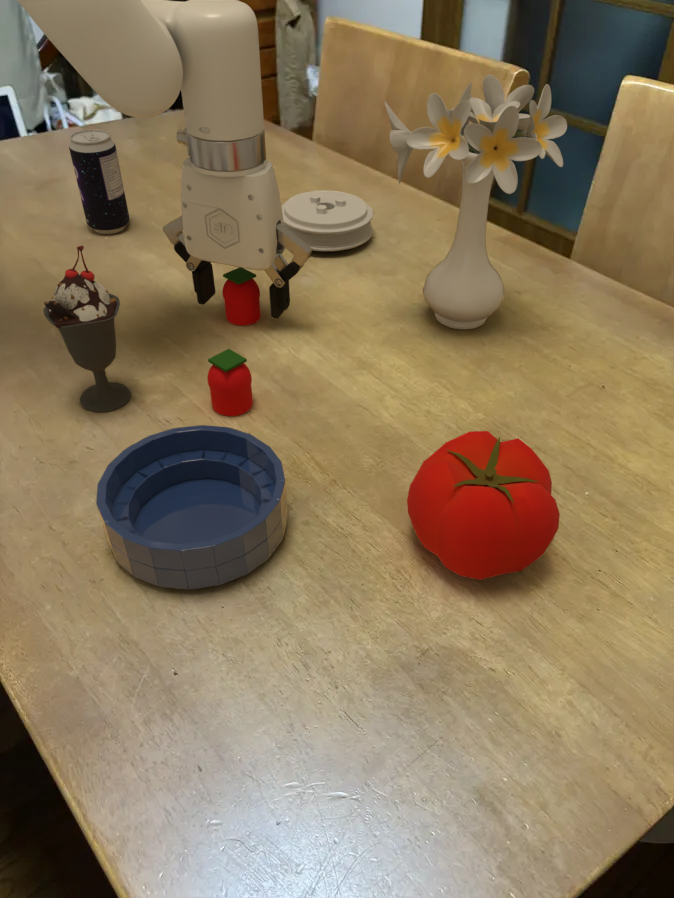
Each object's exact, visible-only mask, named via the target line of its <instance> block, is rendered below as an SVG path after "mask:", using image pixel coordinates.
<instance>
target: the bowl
mask: <svg viewBox="0 0 674 898" xmlns="http://www.w3.org/2000/svg"><path fill="white" fill-rule="evenodd" d="M287 499H288V498H287V485H286V476H285V472H284V468H283V463H282V461H281V459H280V458H279V457H278V455H277V454H276V453H275V451H274V450H273V449H272V447H271V446H270V445H268V444H266V443H265V442H264V441H262V440H261V439H259V438H257V437H256V436H254V435H252V433H248V432H245V431H241V430H239V429H237V428H233V427H228V426H220V425H219V426H218V425H205V424H202V425H201V424H198V425H191V426H179V427H173V428H170V429H166V430H163V431H160V432H157V433H153V434H150V435H148V436H146V437H143V438H142V439H141V440H138V441H136V442H135V443H133V444H131V445H129V446H127V447H126V448H124V449H123V450H122V451H121V452H120V453H119V454H118V455H117V456H116V457H115V458H114V459H112V461H111V462H109V464H108V465H107V466H106V468H105V470H104V471H103V473H102V475H101V477H100V479H99V480H98V483H97V487H96V501H95V505H96V508H97V512H98V515H99V518H100V521H101V524H102V528H103V531H104V535H105V538H106V541H107V543H108V546H109V548H110V550H111V553H112V555H113V558H114V559H115V562H116V563H117V564H118V565H119V566H120V567H122V568H123V569H124V570H125V571H126V572H127V573H129V574H130V575H131V576H132V577H133V578H135V579H138V580H140V581H143V582H145V583H148V584H151V585H154V586H156V587H159V588H166V589H167V588H168V589H177V590H186V591H188V590H196V589H197V590H198V589H203V588H211V587H216V586H221V585H224V584H226V583H229V582H232V581H234V580H237V579H239V578H242V577H244V576H246V575H249V574H250V573H251V572H253V571H254V570H255V569H257V568H258V567H260V566H261V565H262V564H263V563H265V562H266V561H268V560H269V559H270V558H271V556H272V555H273V554H274V552H275V551H276V549H277V548H278V547H279V545H280V544H281V543H282V541H283V539H284V537H285V533H286V529H287V524H288V520H289V517H288V514H289V513H288V501H287Z"/></svg>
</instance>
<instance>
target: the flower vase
mask: <svg viewBox="0 0 674 898" xmlns="http://www.w3.org/2000/svg"><path fill="white" fill-rule="evenodd" d="M482 80H483V81H482V92H483V96H484V100H483V99H481V98H478V97H474V96H473V95H472V87H473V82H469V83H468V85H467V86H466V88H465V89H464V90H463V93H462V95H461V97H460V100H459V102H458V103H457V104H456V106H455V107H452V108H451V109H448V108H447V106H446V104H445V102H444V100H443V98H442V97H441V96H440V95H439V94H438V93H436V92H432V93H431V94H429V96H428V98H427V101H426V112H427V117H428V120H429V122H430V124H431V125H432V127H430V126H423V127H422V126H421V127H418V128H415V129H413V130H412V131H410V129H409V128H408V127H407V126H406V125H405V124H404V123H403V122H402V120H401V119H399V117H398V116H397V115H396V114H395V112H394V111H393V110H392V108H391V107H390V106H389V104H388V102H387V101H386V100H385V101H384V105H385V108H386V109H385V110H386V112H387V115H388V118H389V122H390V123H389V125H390V129H391V130H390V132H389V141H390V146H391V148H392V150H393V152H394V153H396V154H397V177H398V178H397V179H398V185H400V184H401V182H402V178H403V175H404V171H405V169H406V166H407V163H408V161H409V158H410V156H411V154H412V152H413V150H420V151H422V150H423V151H426V150H431V151H429V153H428V154H427V155H426V157H425V160H424V162H423V176H424V177H425V178H428V179H429V178H432V177H433V176H434V175H435V174H436V173H437V172H438V171H439V169H440V167H441V166H442V164H443V162H444V161H445V159H446V158H447V157H448V156H449V157H450V158H451V159H453V160H456V161H460V163H461V177H462V178H461V194H460V195H461V196H460V203H459V210H458V217H457V224H456V229H455V234H454V239H453V241H452V244H451V246H450V249H449V250H448V252H447V254H446V256H445V257H444V258H443V260H441V261H439V262H438V263H437V264H436V265H435V266H434V267H433V268H432V269H431V270H430V271H429V272H428V274H427V275H426V277H425V280H424V284H423V287H422V294H423V299H424V300H425V302H426V304H427V306H428V307H429V308H430V309H431V310H432V311H433V314H434V318H435V319H436V321H437V322H438V323H440V324H441V325H443V326H445V327H447V328H450V329H454V330H460V331H461V330H462V331H465V330H466V331H467V330H474V329H476V328H477V329H478V328H479V327H481V326H482V325H484V324H485V322H486V321H487V320H488V318H489V317H490V316H492V315H493V314H495V312H497V311H498V309H499V308H500V307H501V305H502V304H503V302H504V298H505V285H504V282H503V279H502V277H501V275H500V273H499V272H498V270H497V269H496V268H495V267H494V265H493V264H492V263H491V261H490V259H489V255H488V251H487V239H486V238H487V224H488V223H487V222H488V212H489V205H490V204H489V203H490V196H491V190H492V186H493V182H494V179H495V181H496V183H497V186H499V188H500V189H501V190H502V191H503V192H504V193H505V194H508V195H511V194H514V193H515V192H516V190H517V188H518V182H519V179H518V177H519V176H518V171H517V168H516V165H515V163H514V162H513V161H515V162H526V161H530V160H533V159H535V158H537V157H539V158H540V159H541V160H543V159H545V157H546V155H547V156H548V157H549V158H550V160H551V161H552V162H553V163H555V164H556V166H558V167H559V168H563V166H564V159H563V155H562V152H561V149H560V147H559V146H558V145H557V144H556V142H554V141H553V139H558V138H560V137H562V136H563V135H565V133H566V132H567V129H568V121H567V119H566V118H565V117H564V116H562V115H560V114H553V115H551V116H548V115H549V113H550V110H551V107H552V91H551V87H550V84H548V83H546V84H545V85H544V86H543V89H542V91H541V94H540V97H539V100H538V103H536V101H535V100H534V99H533V97H534V94H535V88H534V86H533V85H532V84H523V85H520V86H518V87H516V88H515V89H514V90H513V91H511V92H510V93H509V94H508V95H507V96H506V99H505V92H504V88H503V86H502V84H501V82H500V80H499V79H498V78H497V77H496V76H494V75H492V74H487V75H485V76H484V78H483V79H482ZM528 104H529V105H528ZM527 105H528V106H529V113H520V112H521V110H522V109H524V108H525V107H526V106H527ZM547 116H548V117H547ZM470 122H471V123H470Z"/></svg>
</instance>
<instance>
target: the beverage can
mask: <svg viewBox="0 0 674 898" xmlns="http://www.w3.org/2000/svg"><path fill="white" fill-rule="evenodd" d="M69 139H70V143H69V147H68V149H69V154H70V158H71V163H72V167H73V171H74V175H75V179H76V184H77V188H78V192H79V196H80V200H81V205H82V209H83V213H84V217H85V221H86V225H87V226H88V227H89V228H90V229H92V230H93V231H95V233H98V234H101V235H112V234H117V233H120V232H122V231H124V230H125V229H126V227H127V226H128V224H129V223H130V220H131V217H130V213H129V208H128V202H127V198H126V192H125V188H124V182H123V178H122V171H121V166H120V161H119V156H118V151H117V147H116V143H115V142H114V140H113V139H112V136H111V133H110V132H108V131H106V130H103V129H94V128H93V129H92V128H91V129H82V130H79V131H75V132H73V133H72V134H71V135H70V136H69Z"/></svg>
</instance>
